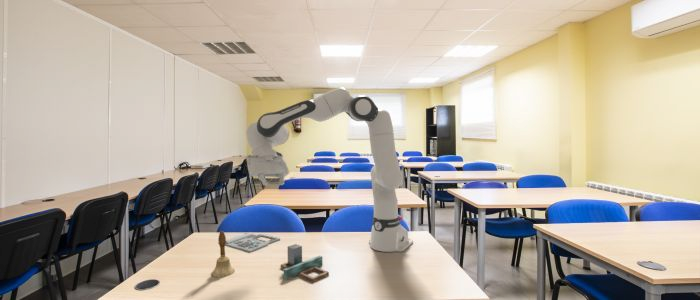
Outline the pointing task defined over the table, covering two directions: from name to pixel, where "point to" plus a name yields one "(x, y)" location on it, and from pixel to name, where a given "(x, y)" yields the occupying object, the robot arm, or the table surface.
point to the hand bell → (222, 260)
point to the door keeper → (305, 269)
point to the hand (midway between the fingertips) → (274, 184)
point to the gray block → (294, 255)
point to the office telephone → (249, 241)
